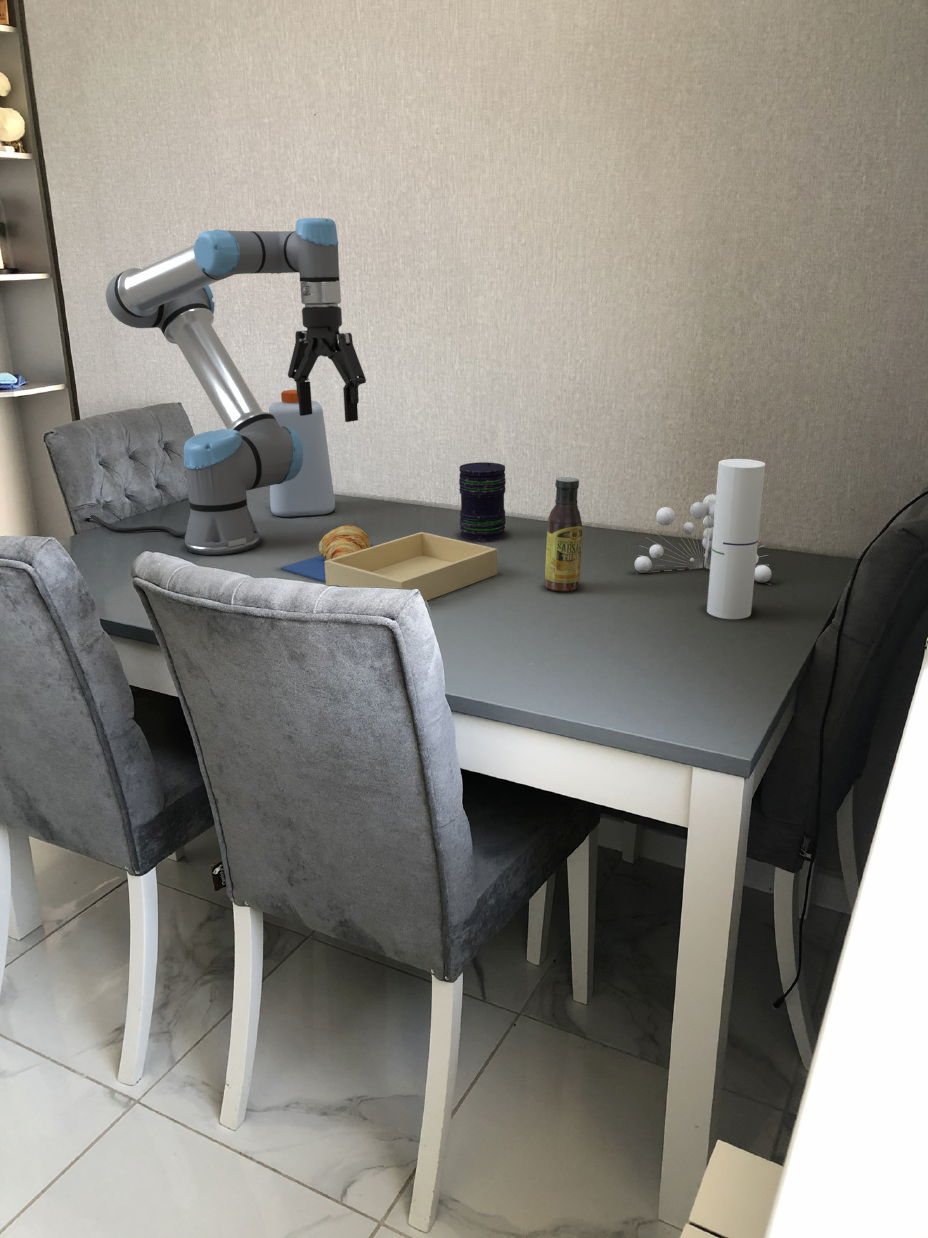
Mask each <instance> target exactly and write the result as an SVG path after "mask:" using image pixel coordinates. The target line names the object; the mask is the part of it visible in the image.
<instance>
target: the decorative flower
mask: <svg viewBox="0 0 928 1238" xmlns="http://www.w3.org/2000/svg"><path fill="white" fill-rule="evenodd" d="M688 501H691V500H690V498H689V500H688ZM715 502H716V494H714V493H709V494H708V495H706V496H705V498H704V499H703V501H695V502H694V503H692V504H691V503H689V504H690V505H689V506H690V509H689V513H690V516H691V517H692V518H693V519H692V520H693V522H691V521H687V518H686V514H685V513H684V512H685V511H684V509H683V507H682V502H680V505H681V506H680V507H681V510H682V512H683V515H684V519H685V521H686V522H685V523H683V525H682V524H681V522H680V521H678V523H679V526H681V529H682V531H683V533H684V535H685V537H686V539H687V541H688V543H689V545H690V546H691V549H692V551H693V552H692V551H691V550H690V548H689V547H688V545H687V544H686V542H685V541H684V540H683V538H682V537H680V539H681V540H682V542H683V543H684V544H685V546H686V547H687V549H688V550H689V551H690V553H691V554H692V555H691V554H690V553H689V552H688V551H686V549H685V548H684V547H683V546H682V545H681V544H679V545H680V546H681V548H682V549H683V550H684V551H685V552H686V553H687V554H688V555H689V556H690V557H689V556H688V555H686V554H685V553H684V552H682V551H681V550H679V549H678V548H677V547H676V546H674V544H672V543H670V542H669V541H668V540H666V539H665V538H664V537H662V536H661V535H659V534H658V533H657V532H656V531H654V530H653V529H652V528H650V530H652V532H654V534H656V535H658V536H659V537H660V538H662V539H663V540H664V541H666V542H667V543H668V544H670V545H671V546H672V547H674V548H675V549H676V550H678V551H680V553H682V554H683V555H684V556H686V557H687V559H688V558H689V562H688V561H684V560H683V559H685V557H684V556H682V555H679V554H678V553H676V552H674V554H675V555H676V556H679V557H681V558H683V559H679V558H676V557H674V556H671V555H667V554H665V552H664V551H665V550H664V549H667V550H668V551H671V552H672V550H670V549H668V548H667V547H665V546H662V545H661V544H659V543H657V542H655V541H654V540H651V539H650V538H649V537H646V540H647V539H648V540H649V541H651V542H652V543H655V544H652V545H651V546H650V547H649V549H648V550H649V551H648V552H649V553H648V554H649V555H650V557H649V556H646V555H640V554H639V557H637V558H636V559H635V561H634V563H633V565H634V569H635V570H636V571H637V573H639V574H645V573H649V572H650V570H651V569H652V566H653V564H652V563H653V562H652V560H651V559H655V560H656V559H657V560H658V559H659V560H660V561H663V559H661V558H662V556H663V555H664V556H668V557H671V558H673V559H676V560H679V561H682V562H685V563H684V565H685V566H688V564H689V567H690V570H693V569H703V568H705V569H707V570H710V564H711V552H712V539H713V527H714V514H715ZM655 518H656V522H657V523H658V524H659V525H660V526H665V527H666V526H670V525H671V526H672V528H673V529H675V527H674V526H673V522H674V521H675V520H676V519H675V518H676V513H675V511H674V509H673V508H672V507H668V506H665V507H661V508H659V509H658V510H657V512H656V515H655ZM695 519H697V520H701V519H703V520H702V525H703V527H704V531H703V533H702V529H701V528H702V527H700V528H699V530H700V534H702V535H703V539H701V545H700V548H699V545H697V546H698V548H697V547H696V544H695V540H694V538H693V535H692V534H693V533H694V532H695V533H697V531H696V525H695V523H694V521H695ZM677 531H678V530H675V532H676V533H677V535H678V536H680V534H679V533H678V532H677ZM687 535H691V539H692V542H693V545H694V548H695V550H696V552H695V550H694V548H693V546H692V544H691V542H690V541H689V538H688V536H687ZM695 537H696V538H698V536H697V535H696V536H695ZM759 538H760V536H758V539H759ZM696 543H699V541H698V540H696ZM764 546H766V544H764V545H761V546H759V547H758V549H759V548H762V547H764ZM639 547H642V548H645V549H647V547H646V546H642V545H639ZM702 547H703V549H704V550H702ZM697 549H701V551H700V550H697ZM702 551H703V552H702ZM693 553H694V554H696V555H697V558H696V555H694V554H693ZM701 553H702V556H703V558H704V560H703V561H702V560H701V559H702V556H700V555H699V554H701ZM699 556H700V557H699ZM766 556H768V554H766V555H764V557H766ZM762 557H763V555H761V556H759V555H758V554H757V556H756V564H757V563H758V562H759V560H760V558H762ZM650 558H651V559H650ZM664 561H665V562H668V560H666V559H664ZM669 562H672V563H673V561H672V560H669ZM674 563H676V564H678V562H675V561H674ZM687 563H688V564H687ZM679 564H682V565H683V563H681V562H679ZM657 566H660V567H664V565H663V564H662V565H660V564H656V567H657ZM693 566H694V567H693ZM675 567H679V568H680V569H678V571H683V570H684V568H683V566H680V565H679V566H678V565H675ZM681 567H682V568H681ZM665 571H666V572H668V571H669V572H670V571H671V569H668V570H665ZM655 572H659V570H657V571H656V570H654V571H653V573H655ZM770 579H772V570H771V569H770V567H769V566H768V565H766V564H757V565H756V566H755V577H754V582H755V581H756V582H758V583H761V584H762V583H763V584H767V585H772V583H768V581H770Z"/></svg>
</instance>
